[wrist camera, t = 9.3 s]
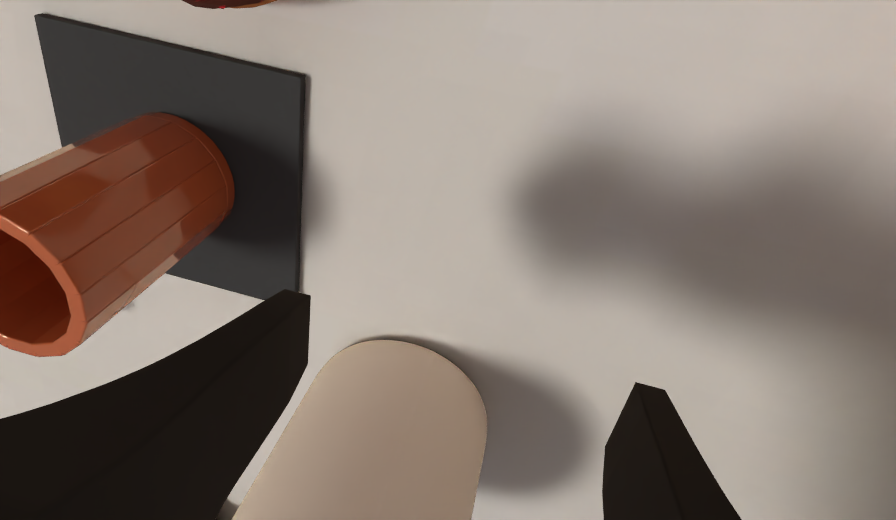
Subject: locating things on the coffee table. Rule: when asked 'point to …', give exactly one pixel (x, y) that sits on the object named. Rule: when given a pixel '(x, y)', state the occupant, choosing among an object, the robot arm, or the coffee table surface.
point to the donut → (228, 3)
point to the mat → (215, 113)
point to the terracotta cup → (102, 226)
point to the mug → (377, 442)
